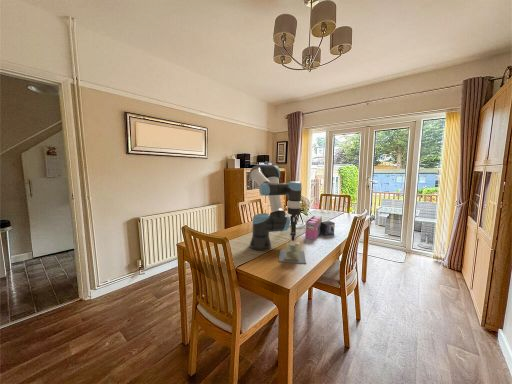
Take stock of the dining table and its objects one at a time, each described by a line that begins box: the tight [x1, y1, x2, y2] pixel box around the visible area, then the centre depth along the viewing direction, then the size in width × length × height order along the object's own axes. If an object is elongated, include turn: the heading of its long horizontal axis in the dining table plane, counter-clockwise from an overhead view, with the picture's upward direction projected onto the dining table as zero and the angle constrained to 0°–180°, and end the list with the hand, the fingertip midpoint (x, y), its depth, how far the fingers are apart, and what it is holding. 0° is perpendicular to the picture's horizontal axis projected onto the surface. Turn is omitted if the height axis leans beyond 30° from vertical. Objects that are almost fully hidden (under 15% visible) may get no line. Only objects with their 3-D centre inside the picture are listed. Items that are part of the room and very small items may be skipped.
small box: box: [319, 220, 335, 237], centre depth 181 cm, size 11×6×10 cm, turn 116°
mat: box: [278, 249, 307, 265], centre depth 136 cm, size 16×18×1 cm
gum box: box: [305, 215, 323, 240], centre depth 179 cm, size 24×8×14 cm, turn 150°
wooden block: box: [285, 241, 301, 260], centre depth 132 cm, size 8×3×10 cm, turn 83°
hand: (292, 241), depth 131 cm, fingers open, 13 cm apart
